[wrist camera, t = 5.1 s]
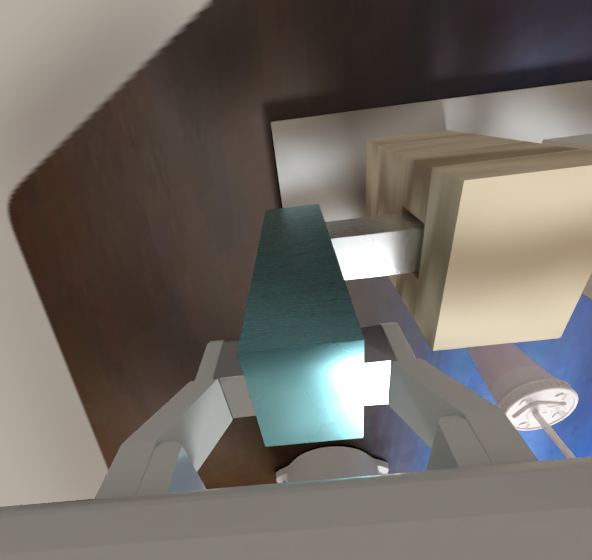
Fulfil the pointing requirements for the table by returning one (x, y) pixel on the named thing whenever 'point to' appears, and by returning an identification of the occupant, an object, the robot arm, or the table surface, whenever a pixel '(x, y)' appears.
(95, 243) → the table surface
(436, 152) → the stand
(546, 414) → the smoothie
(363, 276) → the shaft
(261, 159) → the table surface
